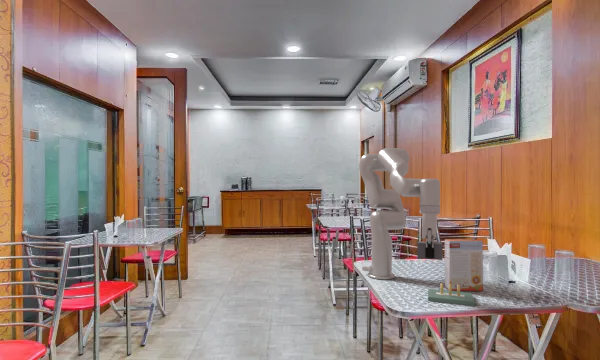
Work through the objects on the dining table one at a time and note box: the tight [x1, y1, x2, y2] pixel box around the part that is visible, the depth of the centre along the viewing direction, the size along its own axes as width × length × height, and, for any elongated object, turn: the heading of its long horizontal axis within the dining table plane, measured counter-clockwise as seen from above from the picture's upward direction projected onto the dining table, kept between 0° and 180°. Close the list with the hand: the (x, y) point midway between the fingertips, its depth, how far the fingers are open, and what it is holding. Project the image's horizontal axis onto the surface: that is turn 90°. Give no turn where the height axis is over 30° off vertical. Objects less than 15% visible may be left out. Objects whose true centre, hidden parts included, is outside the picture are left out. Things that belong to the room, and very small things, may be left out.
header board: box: [427, 283, 476, 307], centre depth 140 cm, size 16×12×6 cm
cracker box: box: [444, 238, 484, 292], centre depth 154 cm, size 14×6×21 cm, turn 89°
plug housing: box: [416, 240, 443, 261], centre depth 142 cm, size 9×5×6 cm, turn 69°
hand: (430, 256), depth 142 cm, fingers closed on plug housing, 5 cm apart
